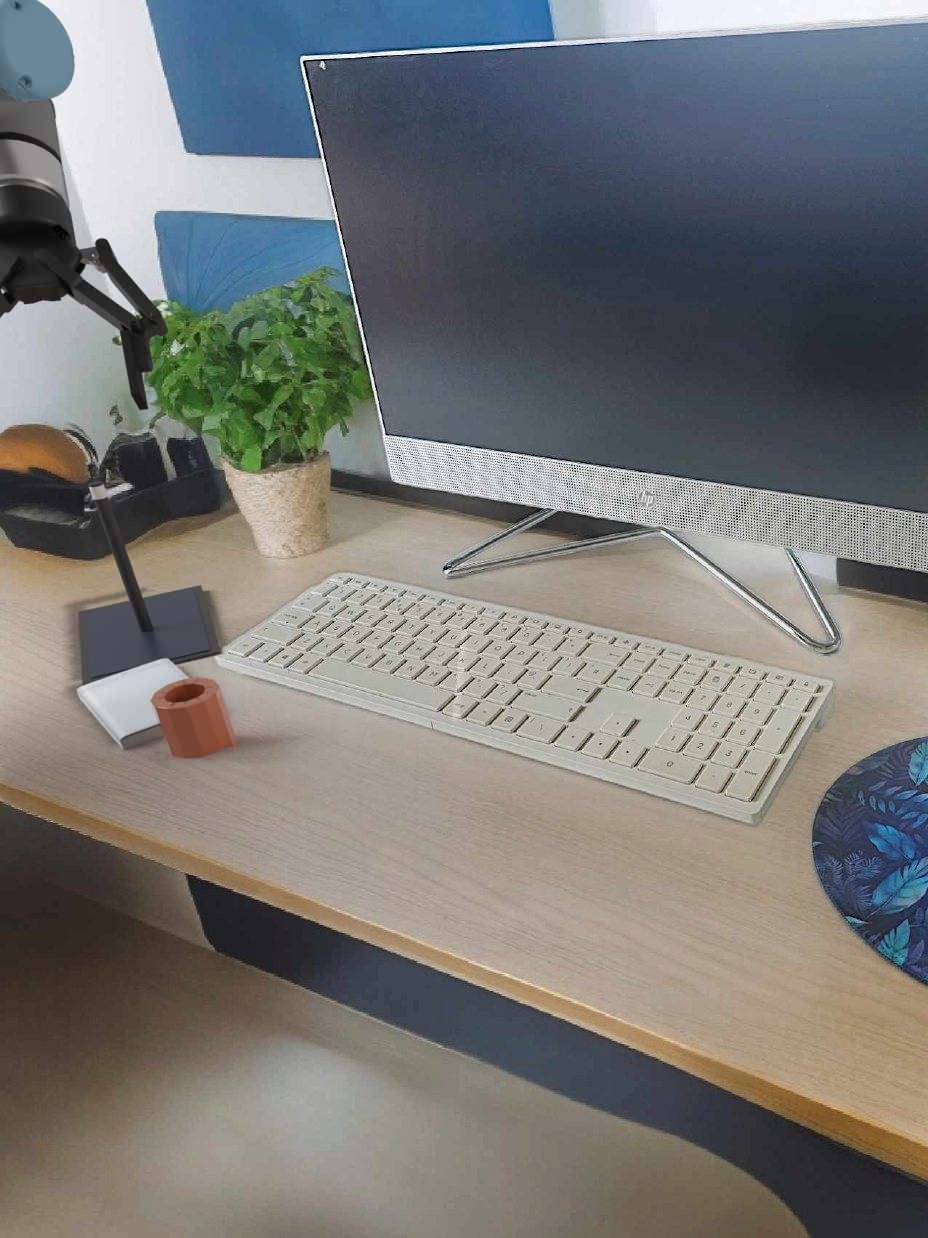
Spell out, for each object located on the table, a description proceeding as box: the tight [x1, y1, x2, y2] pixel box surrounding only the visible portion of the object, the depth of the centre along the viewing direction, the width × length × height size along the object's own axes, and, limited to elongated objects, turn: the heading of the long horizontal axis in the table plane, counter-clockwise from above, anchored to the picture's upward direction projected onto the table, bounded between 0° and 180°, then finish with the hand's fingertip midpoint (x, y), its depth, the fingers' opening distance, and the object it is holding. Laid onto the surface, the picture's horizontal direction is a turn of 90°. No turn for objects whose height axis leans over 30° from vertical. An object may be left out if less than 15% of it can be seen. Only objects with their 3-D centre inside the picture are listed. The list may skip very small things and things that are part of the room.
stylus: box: [88, 480, 153, 632], centre depth 114 cm, size 1×1×15 cm
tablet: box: [77, 584, 222, 686], centre depth 118 cm, size 18×12×1 cm, turn 27°
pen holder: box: [150, 677, 238, 759], centre depth 96 cm, size 5×5×6 cm
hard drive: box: [76, 658, 191, 751], centre depth 105 cm, size 2×8×12 cm
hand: (57, 413), depth 106 cm, fingers open, 13 cm apart
